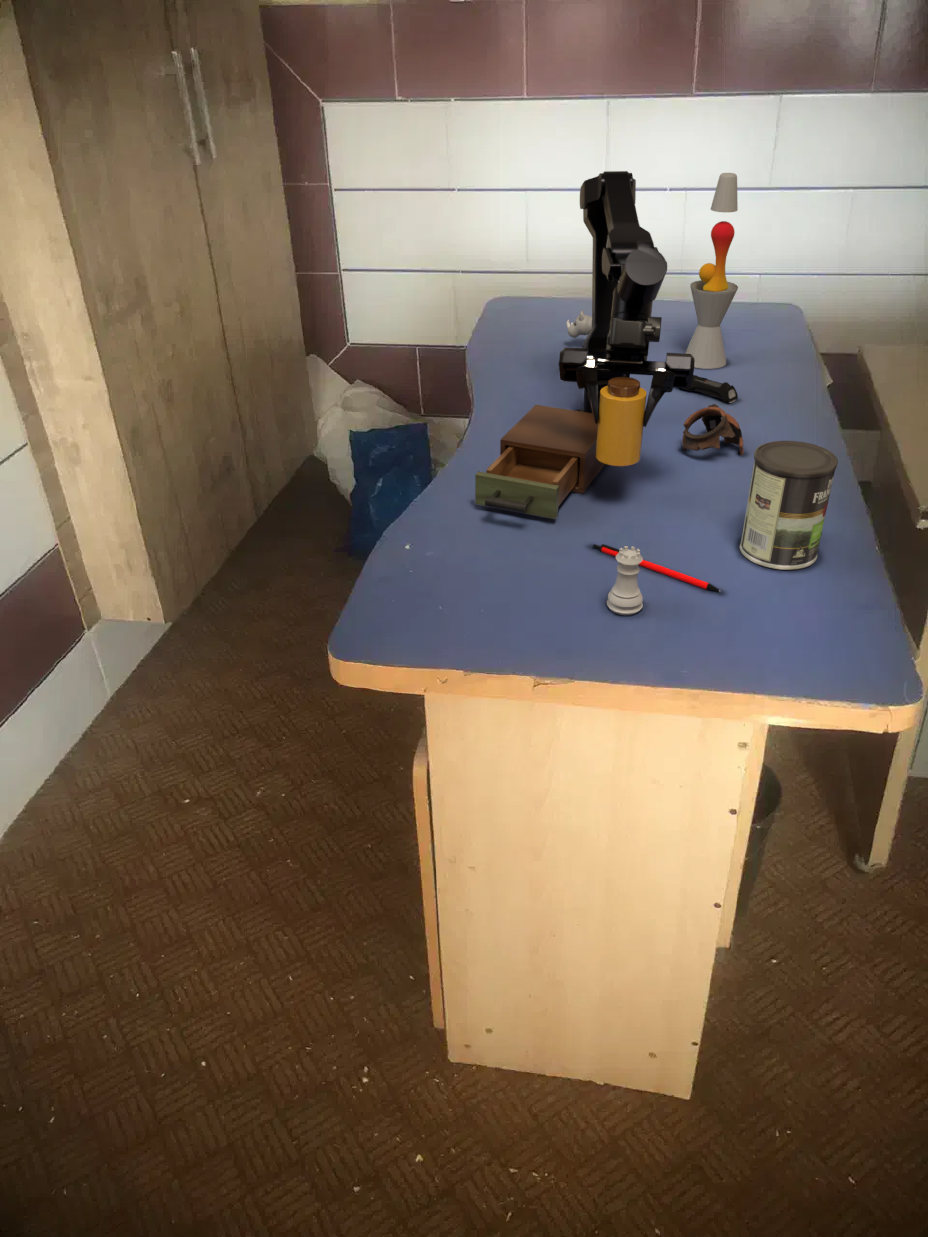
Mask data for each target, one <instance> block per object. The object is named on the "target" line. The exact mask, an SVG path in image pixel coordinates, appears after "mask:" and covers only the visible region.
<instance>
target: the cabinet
mask: <svg viewBox="0 0 928 1237" xmlns="http://www.w3.org/2000/svg"><path fill="white" fill-rule="evenodd" d="M597 429H598V424H595V421H594V417H593V413H587V412H581V411H576V410H573V409H567V408H561V407H554V406H546V405H540V404H535V405H533V407H531V409H529V411H527V413H525V415H524V416H522V417H521V419H519V421H517V422H516V423H515V424H514V426H512V427H511V428H510V429H509V430H508V431H507V432H506V433H505V434H504V435H503V436H502V438H500V441H499V443H500V446H499V447H500V448H499V451H500V452H499V456H500V455H501V454H502V453H503V452H504V451H505V450H506V449H507V448H508V447H509V446H514V447H520V448H526V449H532V450H539V451H545V452H551V453H557V454H563V455H569V456H575V457H581V458H580V471H579V481H578V482H577V483H576V485H575V486H574V487H573V489H572V490H571V491H570V493H572V492H573V493H578V494H584V493H585V491H587V489H588V488H589V486H590V485H591V484H592V482H593V481H594V480H595V478H596V477H597V476H598V474H599V473H600V472H601V470H603V468H604V467H605V465H606V464H604V463H602V462H600V461H599V460H597V458H596V443H597Z"/></svg>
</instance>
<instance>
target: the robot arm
mask: <svg viewBox="0 0 928 1237" xmlns="http://www.w3.org/2000/svg"><path fill="white" fill-rule="evenodd" d="M633 175H634V174H633V173H632V172H629V171H628V170H607V171H603V172H601V173H599V174H598V175H597V176H594V177H592V178H588V179H586V180H584V181H583V182H582V184H581V186H580V189H579V209H580V210H582V218H583V219H582V220H583V223H584V225H585V227H586V229H587V230H588V233H589V234H590V235H591V237H592V267H591V268H592V270H591V271H592V273H591V274H592V275H591V277H592V278H591V284H592V285H591V289H592V290H591V316H592V329H591V331H590V332H589V334H587V335H586V338H585V339H584V341H583V343H582V347H567V346H565V347H563V348H562V349H561V350H560V352H559V356H558V357H559V358H558V371H559V380H560V381H563V382H570V383H576V386H577V388H578V390H583V400H582V401H583V402H582V408H578V409H576V410H575V411H581V412H587V413H593V417H594V421H595V424H598V417H599V402H600V390H601V389H602V388H603V387H605V386H608V381H609V380H610V379H612V378H616V377H630V378H631V375H636V376H637V375H639V376H652V379H651V384H650V387H649V393H648V398H647V399H646V405H645V413H644V422H643V428H646V427H648V426H647V425H648V424H649V421H650V419H651V417H652V415H653V413H654V411H655V409H656V408H657V405H658V403H659V402H660V401H661V399H662V397H663V396H664V395H665V394H666V393H672V392H673V390H674V389H683V388H689V387H691V383H692V378H693V375H694V372H695V367H694V363H695V358H694V357H693V356H692V354H685V353H681V352H666V355H665V361H655V360H654V361H653V360H648V356H649V349H650V348H649V347H650V343H659V342H660V340H661V330H662V321H663V320H662V319H663V317H662V316H652V312H653V301H656V299H657V296H658V294H659V291H660V289H661V287H662V284H663V282H664V279H665V277H666V275H667V272H668V261H667V260H666V258H665V256H664V254H662V253H661V252H660V251H659V248H658V247H657V246H655V244H654V241H653V237H652V235H651V232H650V231H648V230H646V229H645V228H643V227H641V225H640V222H639V217H638V212H637V207H636V198H637V196H636V194H637V193H636V192H637V191H636V188H637V187H636V186H637V180H636V179H635V178H634V177H633Z"/></svg>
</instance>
